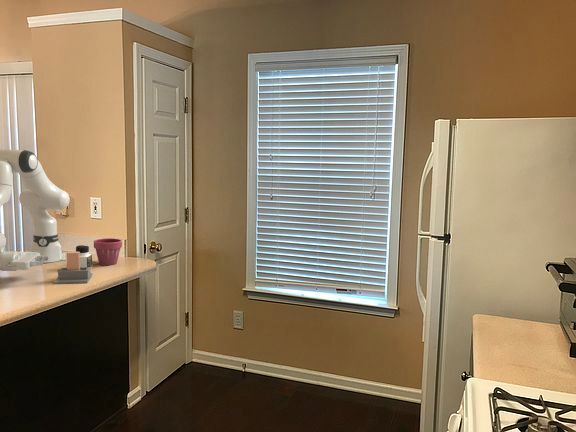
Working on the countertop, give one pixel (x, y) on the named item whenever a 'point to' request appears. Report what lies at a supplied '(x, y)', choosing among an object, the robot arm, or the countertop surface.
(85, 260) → the medicine bottle
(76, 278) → the rack
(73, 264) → the tall tan pillar block
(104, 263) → the plant pot
